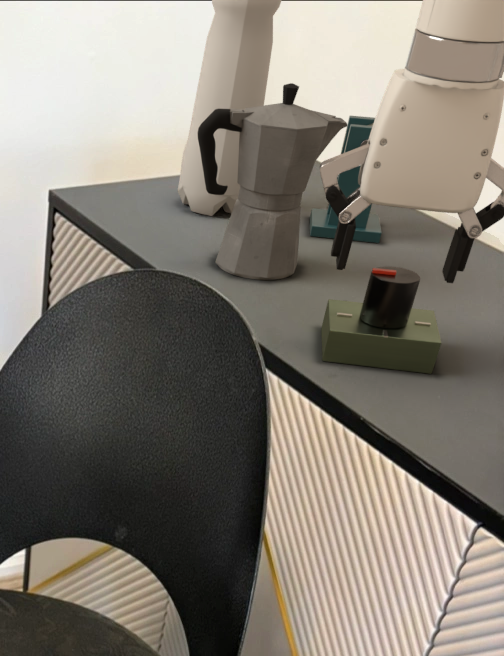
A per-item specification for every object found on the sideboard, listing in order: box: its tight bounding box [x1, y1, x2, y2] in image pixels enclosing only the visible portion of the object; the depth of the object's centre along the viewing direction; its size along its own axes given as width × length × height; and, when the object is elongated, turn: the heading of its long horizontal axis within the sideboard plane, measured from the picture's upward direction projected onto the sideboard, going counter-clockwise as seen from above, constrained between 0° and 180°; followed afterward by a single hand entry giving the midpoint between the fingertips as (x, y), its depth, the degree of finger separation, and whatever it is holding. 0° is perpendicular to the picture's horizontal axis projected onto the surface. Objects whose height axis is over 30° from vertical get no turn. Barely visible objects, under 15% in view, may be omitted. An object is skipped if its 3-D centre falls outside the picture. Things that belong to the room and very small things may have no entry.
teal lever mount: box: [309, 115, 383, 244], centre depth 130 cm, size 8×7×12 cm
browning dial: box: [360, 265, 421, 329], centre depth 104 cm, size 4×4×4 cm
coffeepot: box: [197, 82, 348, 281], centre depth 118 cm, size 15×9×18 cm, turn 93°
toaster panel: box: [320, 298, 442, 375], centre depth 106 cm, size 10×9×3 cm
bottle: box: [177, 0, 282, 217], centre depth 129 cm, size 9×9×30 cm
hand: (393, 271), depth 102 cm, fingers open, 9 cm apart
